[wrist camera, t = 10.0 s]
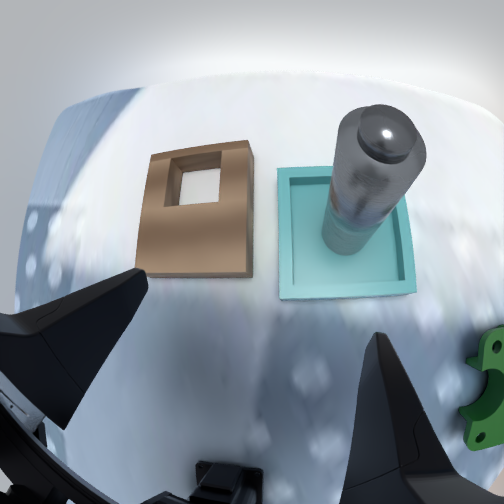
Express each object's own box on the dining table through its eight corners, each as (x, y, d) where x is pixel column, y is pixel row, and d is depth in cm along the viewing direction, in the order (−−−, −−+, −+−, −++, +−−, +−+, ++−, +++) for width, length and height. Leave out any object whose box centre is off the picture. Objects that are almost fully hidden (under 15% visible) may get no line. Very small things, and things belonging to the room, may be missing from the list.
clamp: (454, 345, 22) (482, 311, 16) (496, 339, 20) (531, 304, 13) (449, 451, 16) (482, 456, 9) (495, 440, 13) (536, 437, 7)
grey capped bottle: (356, 263, 21) (425, 188, 8) (313, 242, 22) (325, 141, 9) (373, 222, 22) (439, 117, 9) (332, 202, 23) (355, 80, 10)
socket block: (252, 277, 24) (245, 272, 21) (151, 277, 26) (134, 272, 23) (253, 157, 27) (248, 139, 24) (163, 168, 28) (151, 154, 25)
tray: (405, 294, 21) (416, 292, 19) (281, 300, 23) (279, 298, 20) (391, 179, 23) (398, 166, 21) (279, 181, 25) (277, 168, 23)
